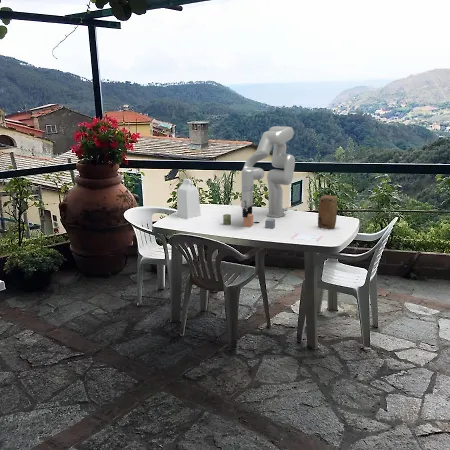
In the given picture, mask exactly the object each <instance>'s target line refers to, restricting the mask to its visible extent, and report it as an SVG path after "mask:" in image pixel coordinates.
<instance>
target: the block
mask: <svg viewBox="0 0 450 450" xmlns="http://www.w3.org/2000/svg"><path fill="white" fill-rule="evenodd" d="M337 198H338V197H337V195H331V194H324V195H322V196H321V197H320V198H319V201H318V207H317V209H318V210H317V226H318V227H319V228H323V229H326V230H327V229H328V230H331V229H334V228H336V223H337V214H338V213H337V211H338V199H337Z"/></svg>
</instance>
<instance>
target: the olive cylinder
mask: <svg viewBox="0 0 450 450" xmlns="http://www.w3.org/2000/svg"><path fill="white" fill-rule="evenodd" d="M222 216H223V217H222V218H223V225H224V226H230V225H232V214H230V213H227V214H226V213H225V214H222Z"/></svg>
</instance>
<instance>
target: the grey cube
mask: <svg viewBox="0 0 450 450" xmlns="http://www.w3.org/2000/svg"><path fill="white" fill-rule="evenodd" d="M264 221H265V225H264V227H265V228H264V229H270V230H271V229H272V230H274V229H275V228H276V219H275V218H267V219H265V220H264Z"/></svg>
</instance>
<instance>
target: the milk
mask: <svg viewBox="0 0 450 450" xmlns="http://www.w3.org/2000/svg"><path fill="white" fill-rule="evenodd" d="M176 192H177V193H176V194H177V196H176V197H177V198H176V199H177V201H176V203H177V209H176V212H177V214H176V215H177V216H176V217H179V216H180V217H179V218H182V217H183V219H186V218H187V220H190V219H194V218H198V217H201V216H202V213H201V203H200V195H199V194H200V192H199V189H198V188H197V186H195V185H194V184H193V182H192V180H191V179H188V178H184V179H183V181H182V183H181V184H180V185H179V187H178V189H177V190H176ZM193 217H194V218H193ZM189 218H190V219H189Z"/></svg>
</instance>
